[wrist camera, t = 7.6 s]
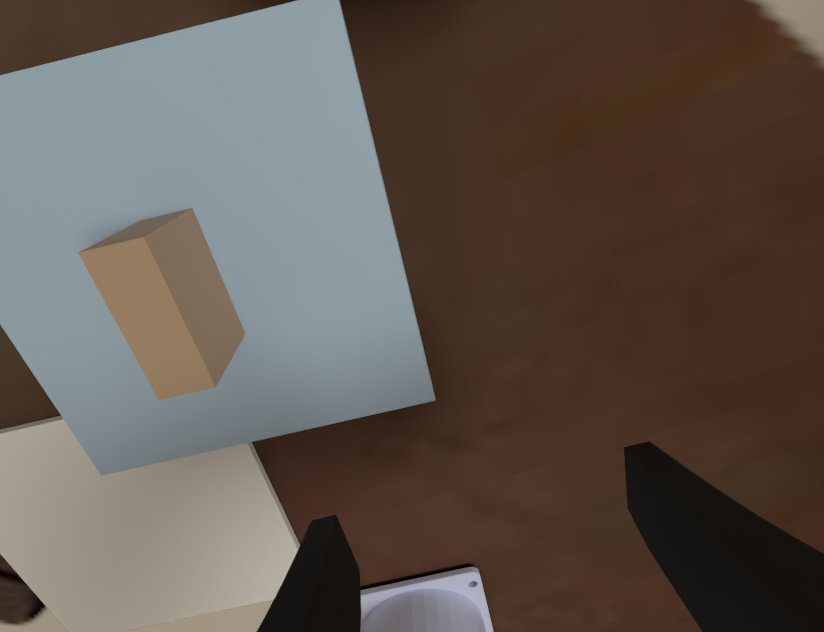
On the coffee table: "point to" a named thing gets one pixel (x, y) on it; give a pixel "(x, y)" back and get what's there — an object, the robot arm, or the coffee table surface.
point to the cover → (204, 239)
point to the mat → (138, 531)
